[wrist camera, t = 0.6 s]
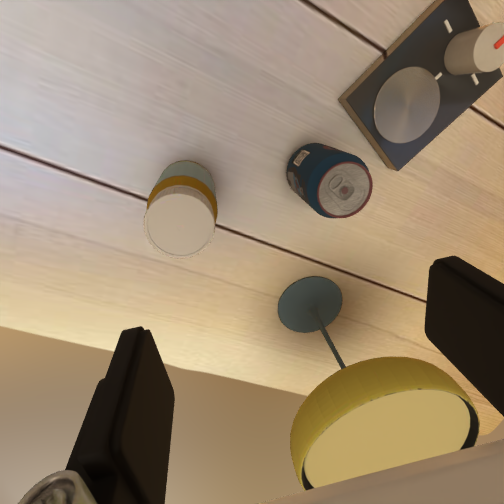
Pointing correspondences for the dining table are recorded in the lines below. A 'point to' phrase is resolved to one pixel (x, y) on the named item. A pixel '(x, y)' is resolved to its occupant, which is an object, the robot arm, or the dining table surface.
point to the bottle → (181, 211)
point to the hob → (430, 58)
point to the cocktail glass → (369, 404)
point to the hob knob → (476, 50)
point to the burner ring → (406, 105)
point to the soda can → (329, 180)
